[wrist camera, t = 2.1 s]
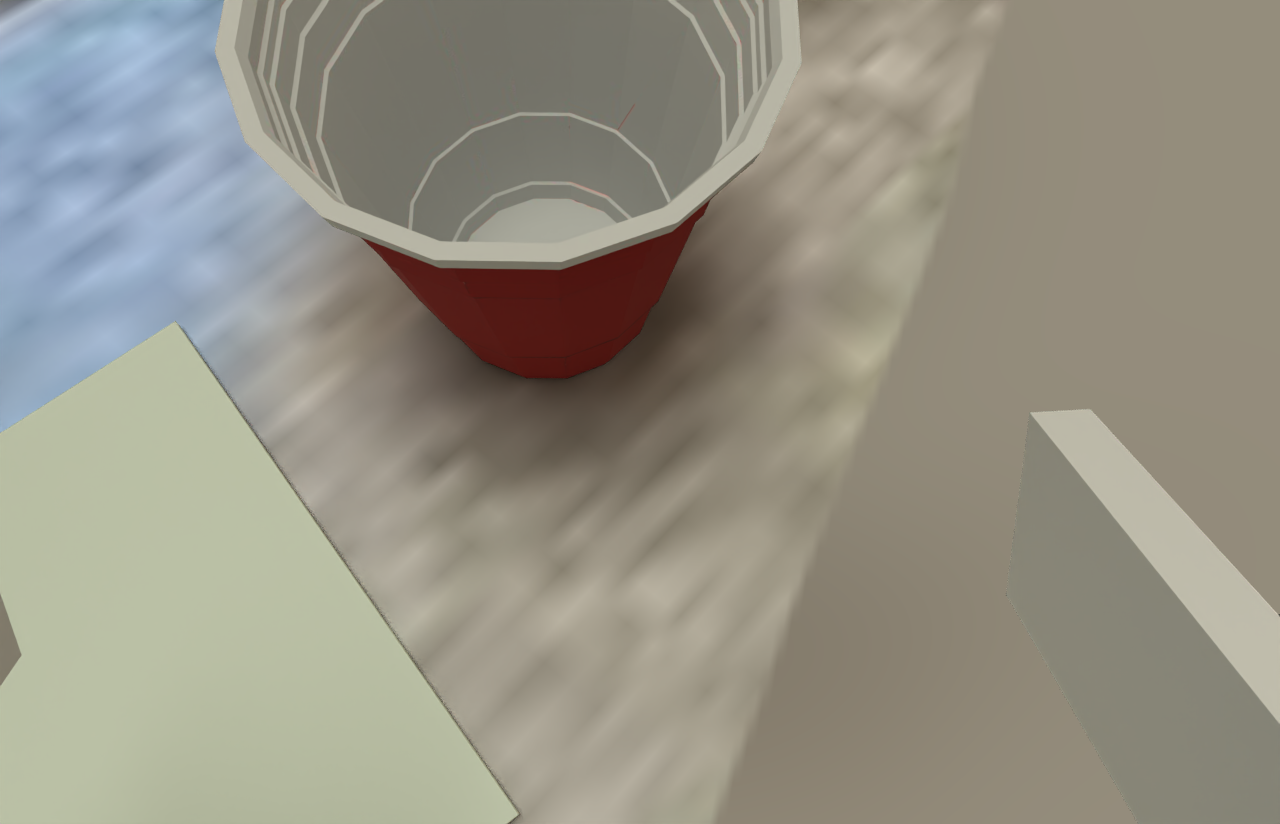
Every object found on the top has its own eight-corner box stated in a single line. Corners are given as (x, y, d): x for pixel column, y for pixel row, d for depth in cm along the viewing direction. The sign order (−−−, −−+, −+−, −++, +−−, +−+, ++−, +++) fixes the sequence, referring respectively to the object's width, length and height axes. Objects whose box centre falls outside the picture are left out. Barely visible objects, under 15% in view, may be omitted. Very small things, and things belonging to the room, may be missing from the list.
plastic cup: (773, 148, 34) (848, -183, 22) (706, 499, 30) (754, 320, 19) (414, 82, 34) (308, -273, 23) (309, 420, 31) (124, 200, 19)
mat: (-385, 689, 28) (-399, 687, 28) (180, 326, 32) (175, 320, 31) (-91, 1299, 24) (-102, 1307, 24) (519, 813, 28) (518, 814, 27)
